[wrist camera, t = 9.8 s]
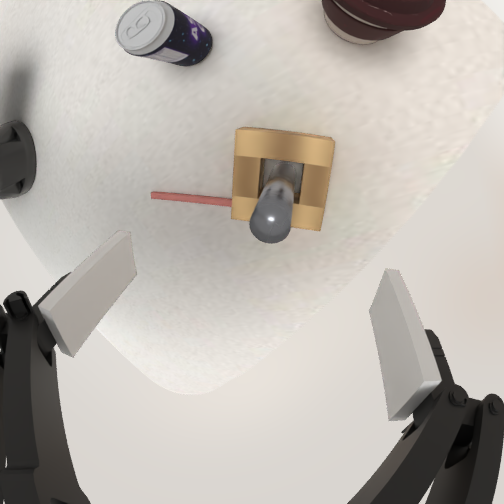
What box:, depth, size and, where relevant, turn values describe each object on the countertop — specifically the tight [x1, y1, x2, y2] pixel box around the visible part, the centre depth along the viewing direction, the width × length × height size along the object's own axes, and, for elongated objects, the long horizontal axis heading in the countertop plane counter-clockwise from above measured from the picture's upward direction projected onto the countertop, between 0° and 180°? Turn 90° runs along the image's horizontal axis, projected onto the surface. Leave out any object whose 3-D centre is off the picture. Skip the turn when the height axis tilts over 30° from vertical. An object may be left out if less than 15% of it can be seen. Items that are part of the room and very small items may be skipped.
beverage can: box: [115, 0, 212, 66], centre depth 20 cm, size 6×6×12 cm
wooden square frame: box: [231, 127, 335, 231], centre depth 30 cm, size 10×10×4 cm
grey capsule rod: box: [250, 162, 296, 243], centre depth 25 cm, size 3×3×15 cm
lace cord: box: [151, 192, 232, 207], centre depth 35 cm, size 12×1×1 cm, turn 86°
